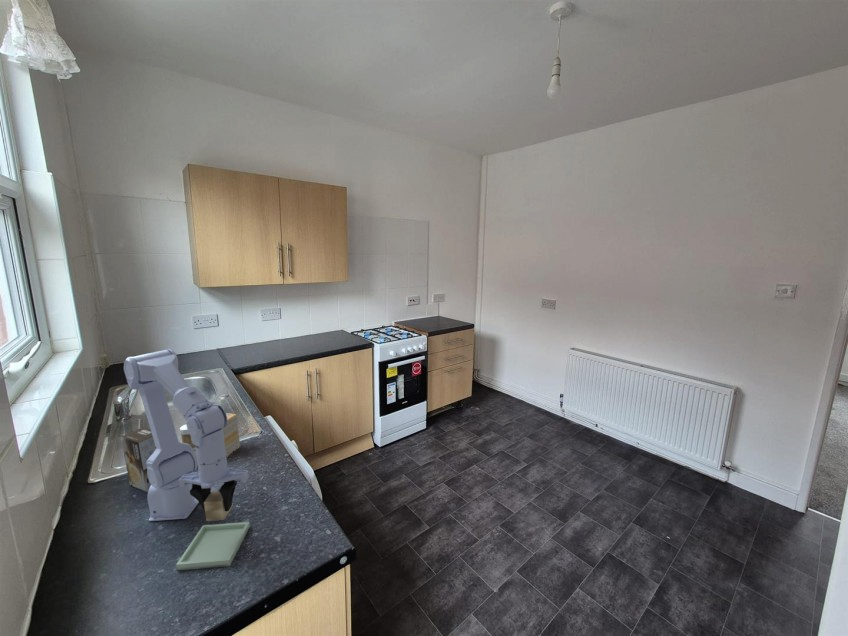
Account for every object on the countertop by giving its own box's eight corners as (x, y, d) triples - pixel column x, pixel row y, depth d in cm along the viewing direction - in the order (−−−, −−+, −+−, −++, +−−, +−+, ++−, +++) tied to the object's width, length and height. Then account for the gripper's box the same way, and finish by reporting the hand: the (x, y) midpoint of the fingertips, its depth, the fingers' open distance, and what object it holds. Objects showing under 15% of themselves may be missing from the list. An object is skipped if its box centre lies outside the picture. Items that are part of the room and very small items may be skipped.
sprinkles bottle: (201, 464, 114) (196, 426, 112) (184, 469, 112) (179, 430, 109) (201, 457, 118) (196, 421, 116) (185, 462, 116) (179, 425, 113)
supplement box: (229, 446, 125) (225, 412, 123) (241, 447, 124) (237, 413, 122) (211, 459, 117) (206, 423, 115) (223, 460, 116) (219, 425, 114)
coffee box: (170, 479, 107) (162, 432, 104) (147, 492, 101) (138, 442, 98) (151, 472, 110) (143, 426, 107) (127, 485, 104) (119, 436, 101)
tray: (176, 570, 76) (176, 564, 76) (203, 530, 87) (202, 525, 87) (230, 565, 77) (229, 560, 77) (249, 527, 88) (249, 521, 88)
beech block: (206, 521, 81) (203, 502, 80) (214, 508, 85) (212, 490, 84) (224, 519, 81) (221, 500, 81) (231, 507, 85) (229, 489, 84)
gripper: (167, 470, 76) (176, 524, 78) (237, 466, 77) (243, 519, 80) (186, 452, 83) (193, 502, 85) (249, 448, 84) (254, 497, 87)
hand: (218, 509), depth 83 cm, fingers closed on beech block, 4 cm apart
